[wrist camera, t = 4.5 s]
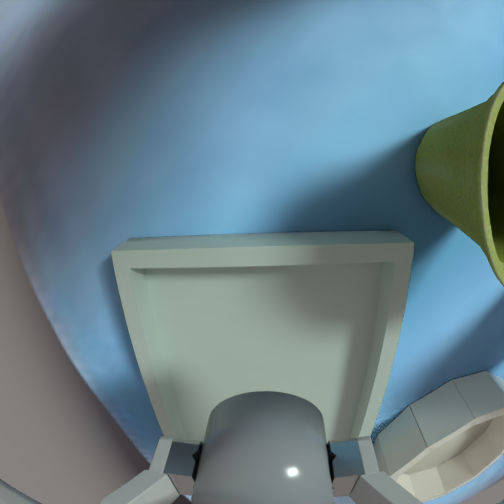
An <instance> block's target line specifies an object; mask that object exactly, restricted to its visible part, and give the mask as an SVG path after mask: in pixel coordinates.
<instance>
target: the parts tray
mask: <svg viewBox="0 0 504 504" xmlns="http://www.w3.org/2000/svg"><path fill="white" fill-rule="evenodd" d="M413 251H414V242H413V241H411V240H410V239H408V238H407V237H406V236H404V235H403V234H401V233H400V232H398V231H331V232H287V233H252V234H222V235H195V236H171V237H149V238H129V239H128V240H126V241H125V242H123V243H122V244H121V245H119V246H118V247H116V248H115V249H113V250H112V251H111V255H112V260H113V266H114V271H115V276H116V280H117V285H118V290H119V294H120V298H121V303H122V307H123V311H124V315H125V319H126V323H127V327H128V330H129V334H130V338H131V341H132V345H133V348H134V352H135V355H136V358H137V362H138V365H139V368H140V371H141V374H142V378H143V381H144V384H145V387H146V389H147V392H148V395H149V398H150V401H151V404H152V406H153V409H154V412H155V415H156V417H157V420H158V422H159V425H160V427H161V430H162V432H163V435H164V436H165V437H173V438H179V439H187V440H196V441H202V442H204V437H205V433H206V428H207V423H208V419H209V415H210V413H211V411H212V410H213V409H214V408H215V406H216V405H218V404H219V403H220V402H222V401H224V400H225V399H227V398H230V397H232V396H235V395H239V394H243V393H248V392H256V391H275V392H283V393H288V394H292V395H296V396H299V397H301V398H304V399H306V400H307V401H309V402H311V403H312V404H314V405H315V406H316V407H317V408H318V409H319V410H320V412H321V413H322V416H323V419H324V426H325V433H326V441H327V443H328V441H332V440H341V439H348V438H357V437H364V436H371V433H372V430H373V428H374V425H375V422H376V419H377V416H378V413H379V410H380V407H381V404H382V400H383V397H384V394H385V390H386V387H387V383H388V380H389V376H390V373H391V369H392V365H393V361H394V357H395V353H396V349H397V345H398V340H399V336H400V331H401V326H402V322H403V317H404V311H405V306H406V300H407V294H408V288H409V282H410V275H411V268H412V260H413Z"/></svg>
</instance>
